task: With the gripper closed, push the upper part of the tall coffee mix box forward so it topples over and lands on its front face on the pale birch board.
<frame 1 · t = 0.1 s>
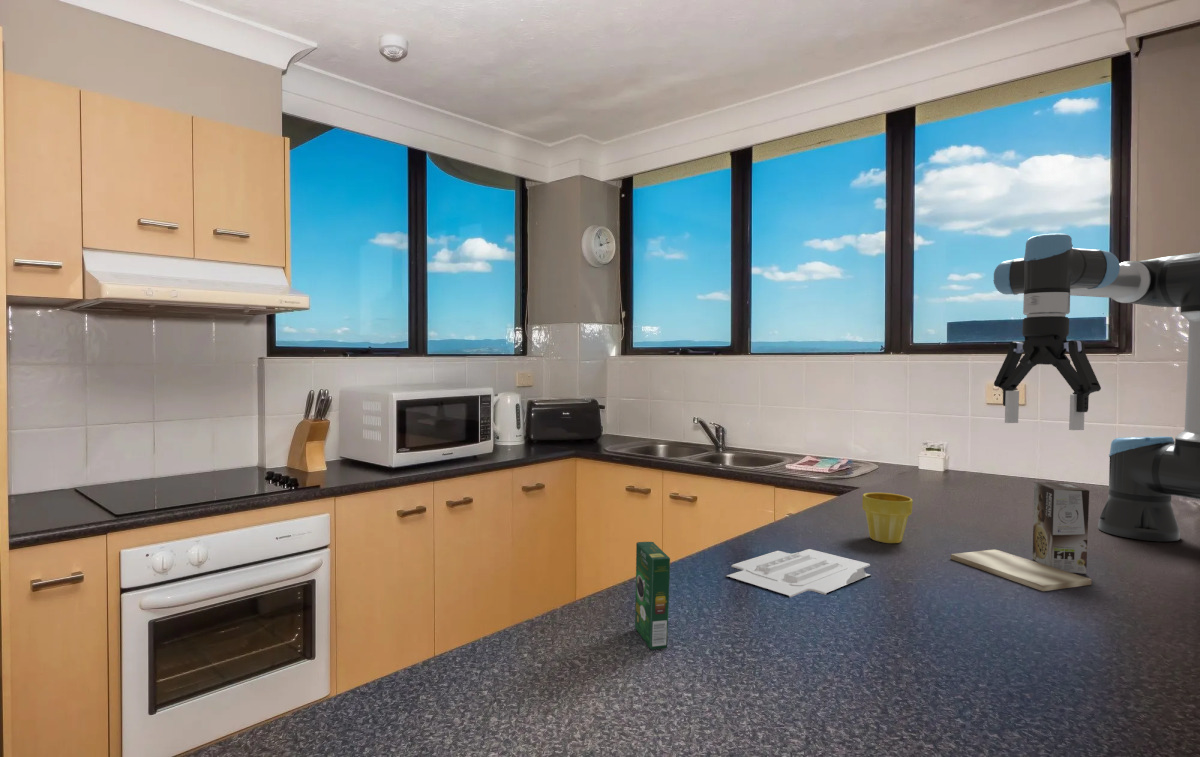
hand: (1042, 426, 131), 28 cm above the counter, tool pointing down, fingers open, 13 cm apart
coffee box: (1058, 567, 135), on the counter
plant pot: (886, 540, 153), on the counter
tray: (799, 575, 129), on the counter
birch board: (1017, 571, 131), on the counter
coffee box 2: (651, 640, 98), on the counter
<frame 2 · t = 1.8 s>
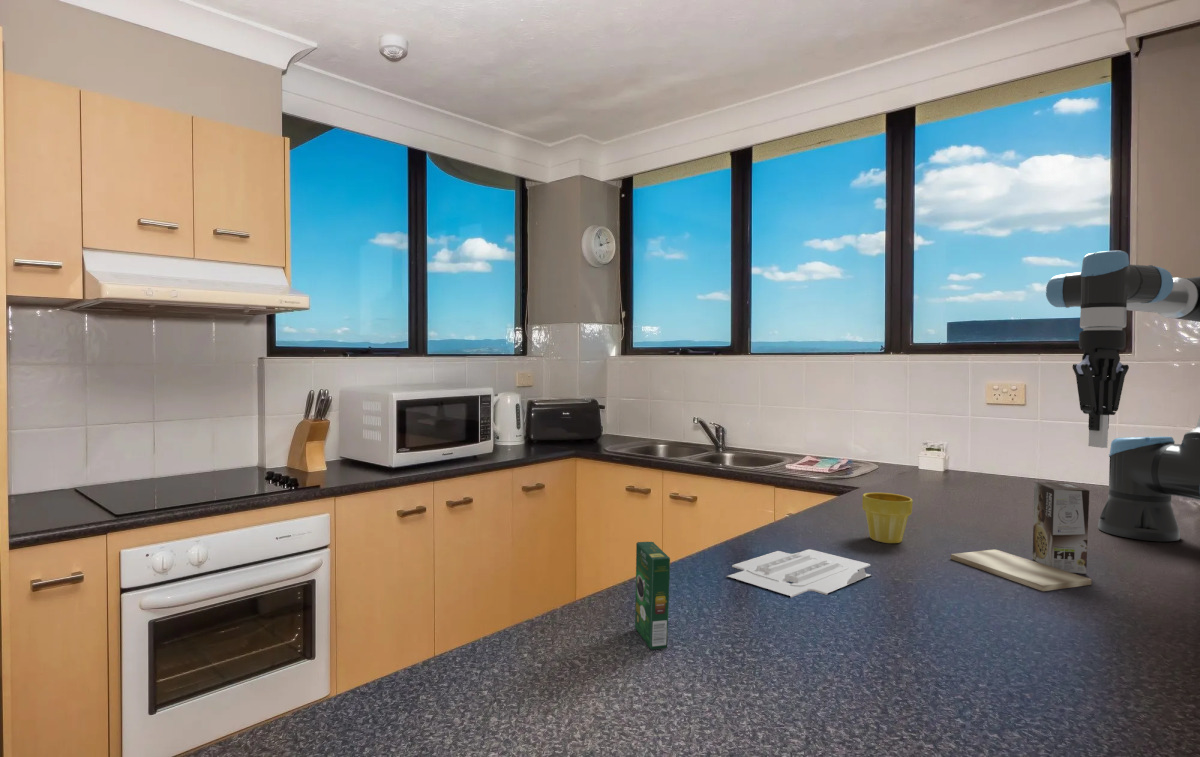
hand: (1097, 446, 137), 23 cm above the counter, tool pointing down, fingers closed
nothing on the counter moved.
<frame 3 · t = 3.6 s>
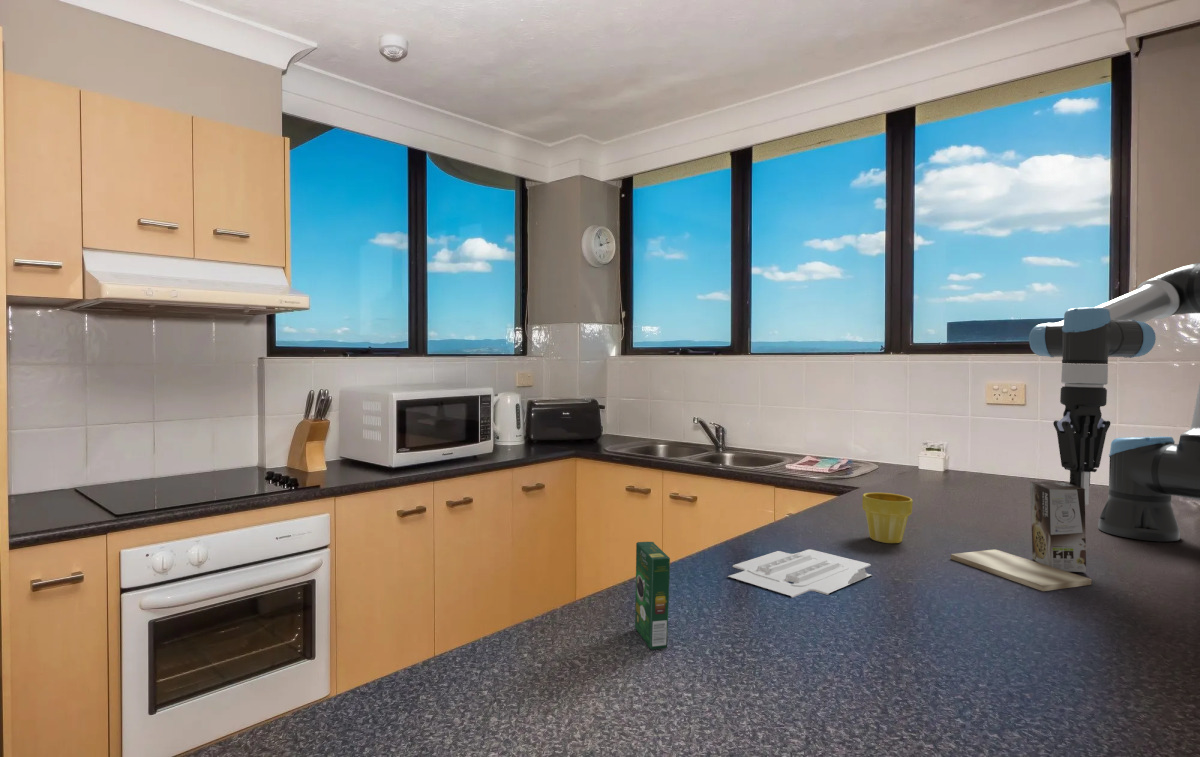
hand: (1079, 503, 136), 12 cm above the counter, tool pointing down, fingers closed
coffee box: (1058, 566, 135), on the counter, touching gripper
everything else where it was.
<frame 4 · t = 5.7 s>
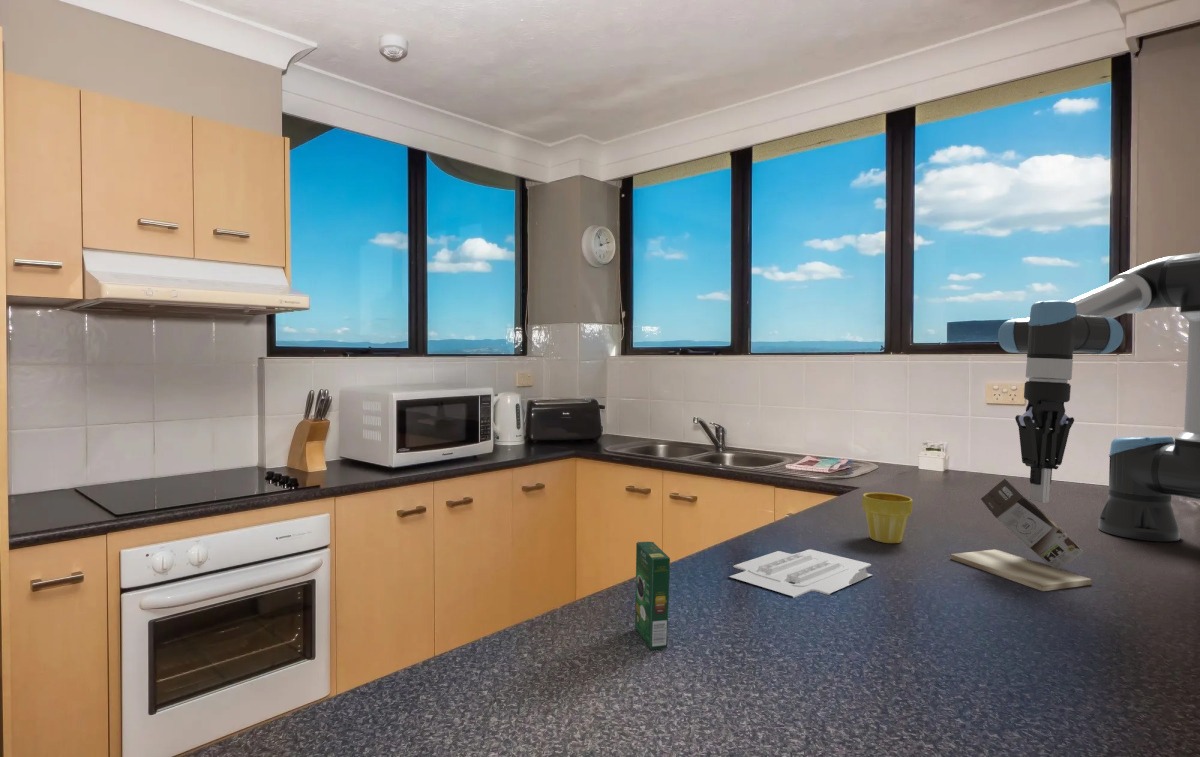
hand: (1039, 500, 133), 13 cm above the counter, tool pointing down, fingers closed
coffee box: (1060, 550, 134), point 3 cm above the counter, touching birch board, gripper
everything else where it was.
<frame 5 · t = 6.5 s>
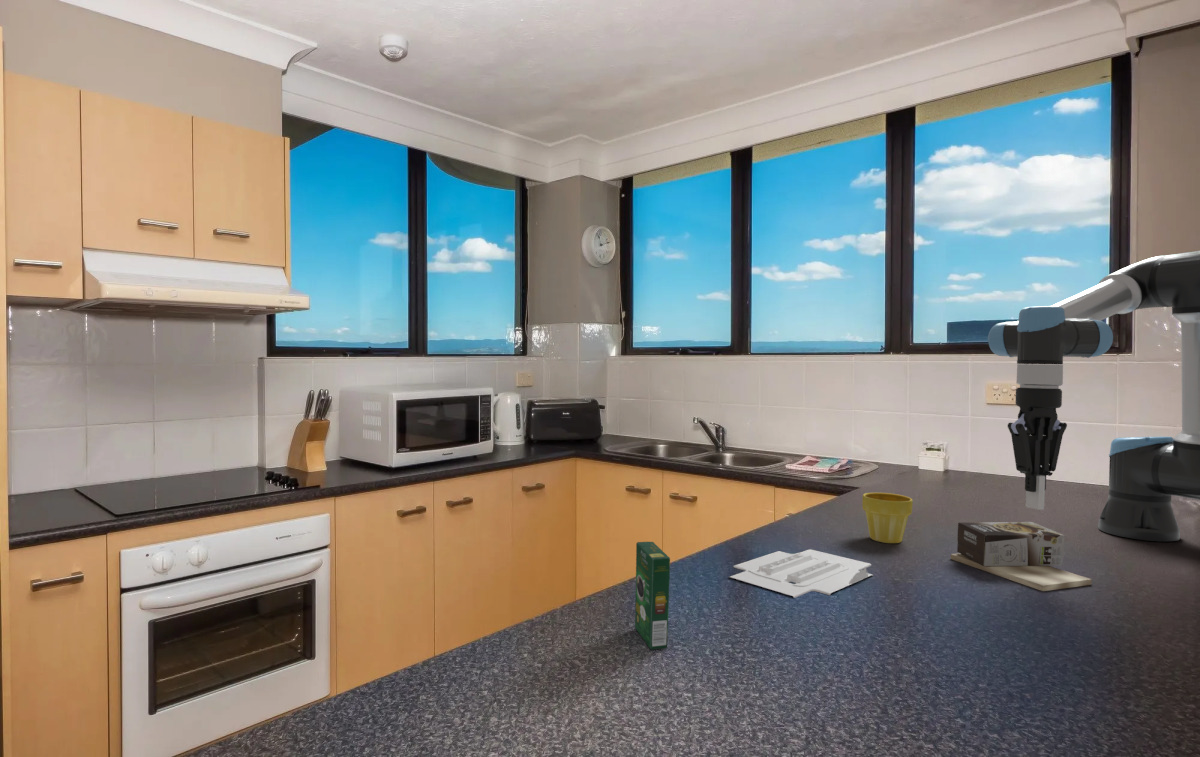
hand: (1034, 508, 132), 12 cm above the counter, tool pointing down, fingers closed
coffee box: (1048, 542, 136), point 4 cm above the counter, touching birch board
everything else where it was.
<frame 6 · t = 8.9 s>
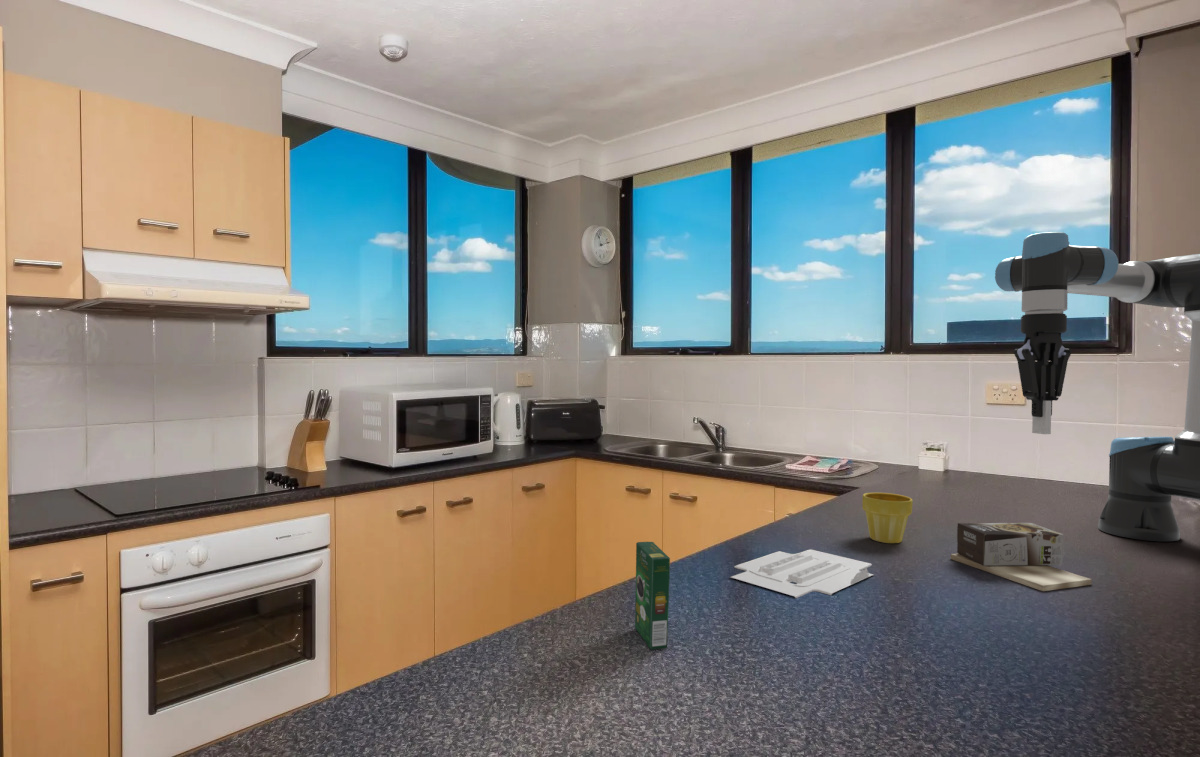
hand: (1041, 433, 134), 26 cm above the counter, tool pointing down, fingers closed
nothing on the counter moved.
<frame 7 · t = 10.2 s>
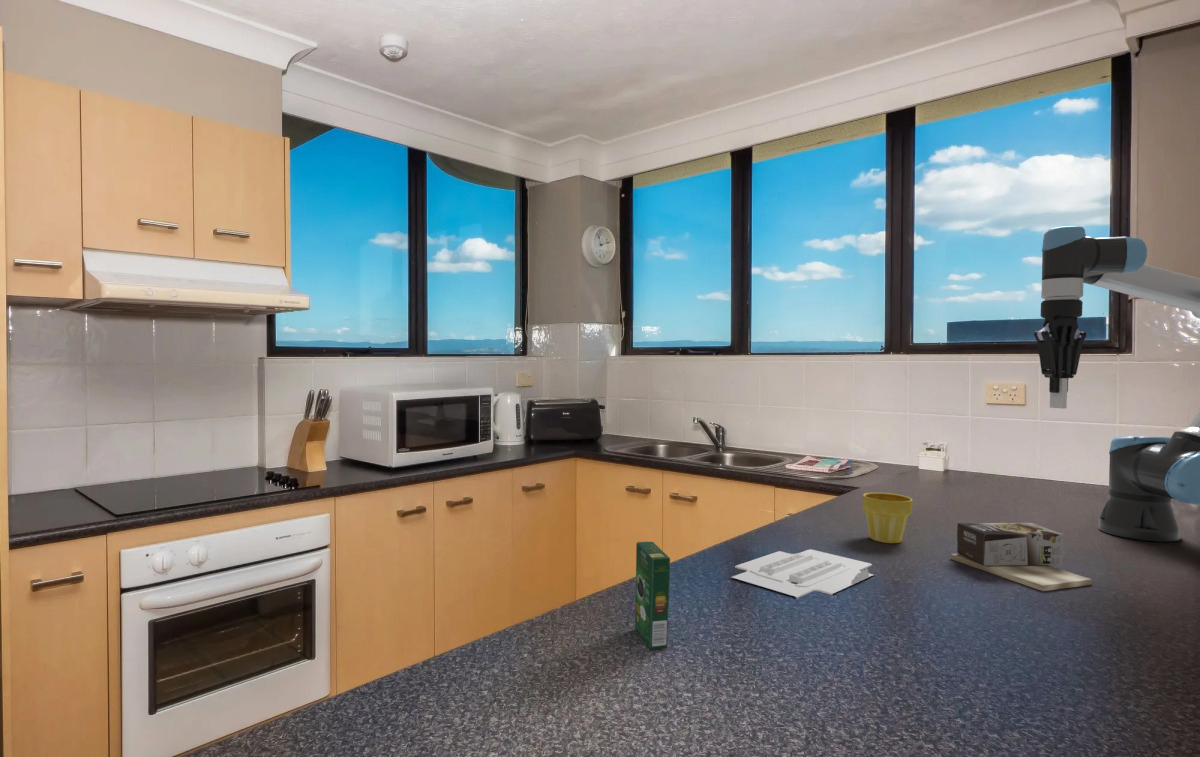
hand: (1058, 407, 148), 30 cm above the counter, tool pointing down, fingers closed
nothing on the counter moved.
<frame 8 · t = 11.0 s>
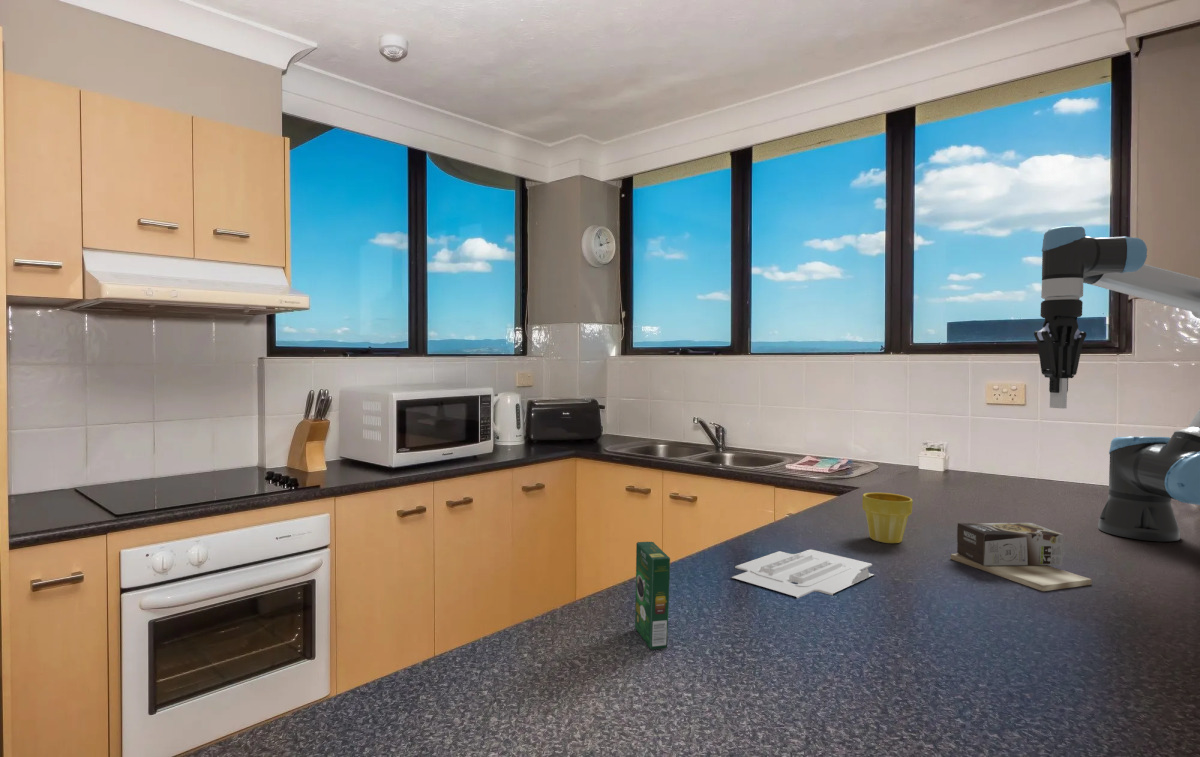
hand: (1057, 407, 148), 30 cm above the counter, tool pointing down, fingers closed
nothing on the counter moved.
at the end: coffee box tilted 90°; coffee box 10.2 cm from the birch board (horizontally); the gripper is holding nothing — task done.
